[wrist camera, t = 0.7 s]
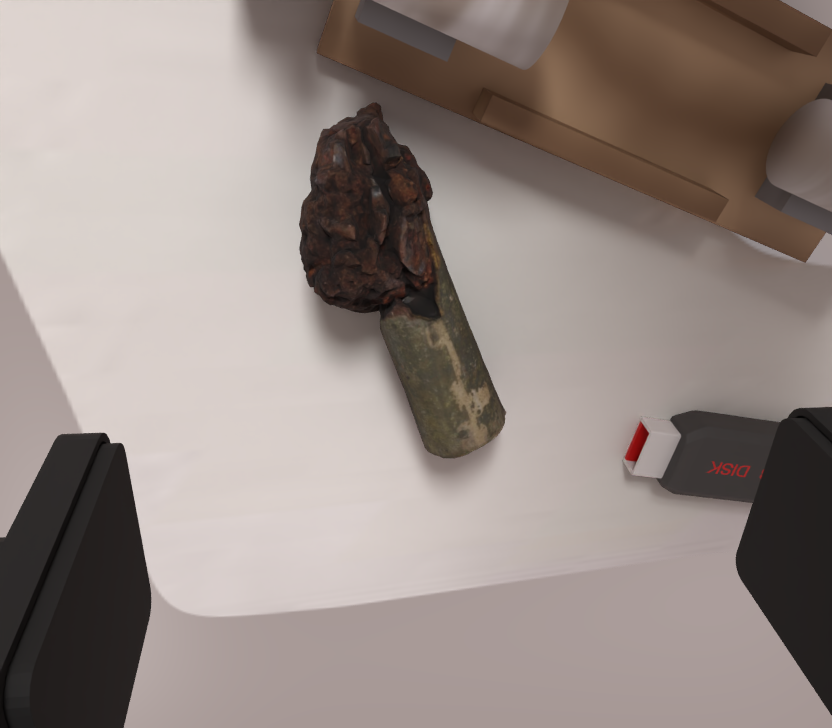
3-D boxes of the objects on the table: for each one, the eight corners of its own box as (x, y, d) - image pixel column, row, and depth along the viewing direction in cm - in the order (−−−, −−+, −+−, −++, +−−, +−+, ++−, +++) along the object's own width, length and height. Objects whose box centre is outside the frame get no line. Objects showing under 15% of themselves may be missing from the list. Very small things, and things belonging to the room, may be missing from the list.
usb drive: (776, 487, 51) (799, 514, 49) (615, 468, 48) (630, 495, 46) (812, 424, 49) (838, 448, 46) (644, 400, 46) (662, 425, 44)
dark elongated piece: (500, 395, 43) (518, 453, 38) (389, 432, 44) (394, 493, 39) (397, 89, 35) (404, 112, 30) (262, 140, 36) (247, 170, 31)
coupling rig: (402, -202, 30) (427, -242, 23) (913, 80, 38) (1037, 108, 32) (316, 50, 34) (318, 75, 27) (795, 256, 42) (883, 313, 36)
